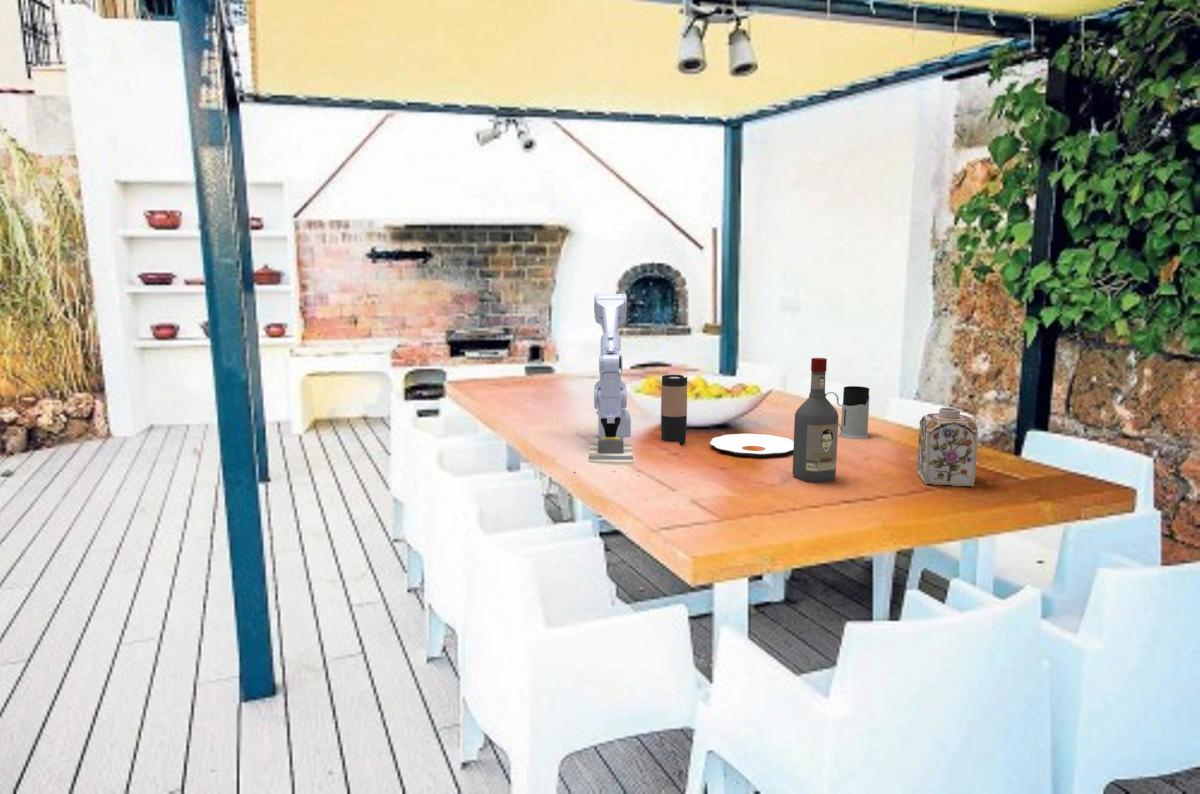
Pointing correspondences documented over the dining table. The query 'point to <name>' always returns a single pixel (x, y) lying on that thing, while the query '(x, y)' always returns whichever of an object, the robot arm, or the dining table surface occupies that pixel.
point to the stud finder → (610, 444)
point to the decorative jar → (947, 448)
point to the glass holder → (854, 412)
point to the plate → (753, 444)
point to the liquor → (816, 431)
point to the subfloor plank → (594, 452)
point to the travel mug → (674, 408)
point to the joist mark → (610, 458)
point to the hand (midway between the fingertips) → (610, 443)
